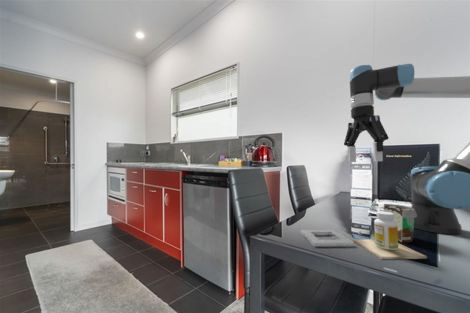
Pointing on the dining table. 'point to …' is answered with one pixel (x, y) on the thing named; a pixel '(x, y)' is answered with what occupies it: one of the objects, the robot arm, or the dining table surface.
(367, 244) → the oak pad
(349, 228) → the dining table surface
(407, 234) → the food container
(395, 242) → the supplement bottle
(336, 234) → the grey square frame
